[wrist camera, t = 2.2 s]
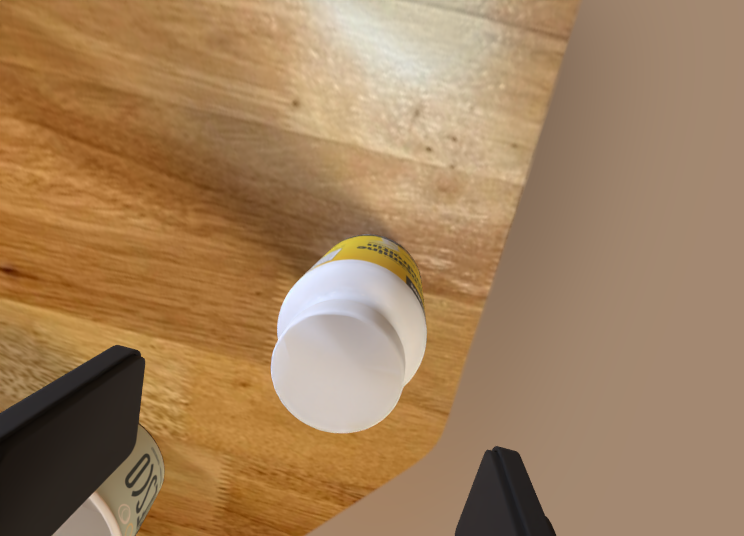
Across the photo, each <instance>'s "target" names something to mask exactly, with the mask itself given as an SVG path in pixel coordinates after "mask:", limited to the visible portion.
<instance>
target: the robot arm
mask: <svg viewBox="0 0 744 536" xmlns="http://www.w3.org/2000/svg"><path fill="white" fill-rule="evenodd" d="M144 369H145V359H144V358H143V357H141V354H140V352H139V351H138V350H135V349H131V348H128V347H124V346H120V345H115V346H112V347H111V348H109V349H107V350H106V351H104V352H102V353H101V354H99V355H97V356H96V357H94V358H92V359H91V360H89V361H87V362H85V363H84V364H82V365H80V366H79V367H77V368H75V369H74V370H72V371H70V372H69V373H67V374H65V375H64V376H62V377H60V378H59V379H57V380H55V381H53V382H52V383H50V384H48V385H47V386H45V387H43V388H42V389H40V390H38V391H37V392H35V393H33V394H32V395H30V396H28V397H27V398H25V399H23V400H21V401H20V402H18V403H16V404H15V405H13V406H11V407H10V408H8V409H6V410H5V411H3V412H1V413H0V536H52V535H53V534H54V533H55V532H56V531H57V530H58V529H59V528H60V527H61V526H62V525H63V524H64V523H65V522H66V521H67V520H68V518H69V517H70V516H71V515H72V514H73V513H74V512H75V511H76V510H77V509H78V508H79V507H80V506H81V505H82V504H83V503H84V502H85V501H86V500H87V499H88V498H89V497H90V496H91V495H92V494H93V493H94V492H95V491H96V490H97V489H98V488H99V487H100V486H101V485H102V483H103V482H104V481H105V480H106V479H107V478H108V477H109V476H110V475H111V474H112V473H113V472H114V471H115V470H116V469H117V468H118V467H119V466H120V465H121V464H122V463H123V462H124V461H125V460H126V459H127V458H128V457H129V455H130V454H131V453H132V451H133V449H134V447H135V444H136V440H137V432H138V423H139V414H140V405H141V396H142V387H143V378H144ZM455 536H556V534H555V531H554V529H553V527H552V524H551V523H550V521H549V519H548V518H547V517H546V516H545V514H544V512H543V510H542V507H541V505H540V503H539V500H538V498H537V495H536V493H535V490H534V488H533V486H532V483H531V481H530V478H529V476H528V473H527V471H526V469H525V466H524V464H523V462H522V459H521V457H520V455H519V453H518V452H516V451H513V450H509V449H506V448H502V447H498V446H496V447H494V448H493V449H492V451H491V450H487V451H486V452H485V454H484V456H483V459H482V461H481V464H480V467H479V469H478V472H477V475H476V477H475V480H474V482H473V485H472V488H471V491H470V493H469V496H468V499H467V501H466V504H465V506H464V509H463V512H462V514H461V517H460V520H459V522H458V525H457V528H456V531H455Z"/></svg>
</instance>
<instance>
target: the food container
mask: <svg viewBox="0 0 744 536" xmlns="http://www.w3.org/2000/svg"><path fill="white" fill-rule="evenodd" d="M163 480H164V463H163V458H162V455H161V453H160V450H159V448H158V446H157V444H156V443H155V441H154V440H153V438H152V437H151V436H150V435H149V433H148V432H147V431H146V430H145V429H144V428H143V427H142V426H140V425H139V424H138V432H137V440H136V444H135V447H134V449H133V451H132V453H131V454H130V455H129V457H128V458H127V459H126V460H125V461H124V462H123V463H122V464H121V465H120V466H119V467H118V468H117V469H116V470H115V471H114V472H113V473H112V474H111V475H110V476H109V477H108V478H107V479H106V480H105V481H104V482H103V483H102V485H101V486H100V487H99V488H98V489H97V490H96V491H95V492H94V493H93V494H92V495H91V496H90V497H89V498H88V499H87V500H86V501H85V502H84V503H83V504H82V505H81V506H80V507H79V508H78V509H77V510H76V511H75V512H74V513H73V514H72V515H71V516H70V517H69V518H68V520H67V521H66V522H65V523H64V524H63V525H62V526H61V527H60V528H59V529H58V530H57V531H56V532H55V533H54V534H53V535H52V536H136V534H137V532H138V530H139V528H140V526H141V524H142V523H143V521H144V519H145V517H146V515H147V513H148V511H149V510H150V508H151V506H152V504H153V502H154V500H155V498H156V496H157V495H158V493H159V491H160V489H161V487H162V484H163Z"/></svg>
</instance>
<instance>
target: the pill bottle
mask: <svg viewBox="0 0 744 536" xmlns="http://www.w3.org/2000/svg"><path fill="white" fill-rule="evenodd" d="M277 335H278V342H277V344H276V346H275V348H274V351H273V355H272V361H271V376H272V381H273V385H274V388H275V390H276V393H277V395H278V396H279V398H280V400H281V402H282V403H283V404H284V406H285V407H286V408H287V409H288V410H289V411H290V413H291V414H293V415H294V416H295V417H296V418H297V419H299V420H301V421H302V422H303V423H305V424H307V425H309V426H311V427H313V428H316V429H318V430H322V431H325V432H332V433H351V432H358V431H361V430H365V429H368V428H370V427H372V426H374V425H376V424H377V423H379V422H380V421H382V420H383V419H384V418H385V417H386V416H387V415H388V414H389V413H390V412H391V411H392V410H393V409H394V407H395V406H396V404H397V402H398V400H399V398H400V395H401V393H402V390H403V387H404V386H405V385H406V384H407V383H408V382H409V381H410V380H411V378H412V377H413V376H414V374H415V373H416V371H417V370H418V368H419V366H420V364H421V361H422V359H423V356H424V352H425V348H426V341H427V327H426V318H425V307H424V299H423V291H422V282H421V276H420V272H419V270H418V267H417V265H416V263H415V261H414V260H413V258H412V257H411V255H410V254H409V253H408V252H407V251H406V250H405V249H404V248H403V247H402V246H401V245H399V244H398V243H396V242H394V241H393V240H391V239H388V238H386V237H382V236H378V235H369V234H365V235H357V236H354V237H350V238H348V239H345V240H343V241H341V242H340V243H338V244H337V245H336V246H334V247H333V248H332V249H331V250H330V251H329V252H328V253H327V254H325V255H324V256H323V257H322V258H321V259H320V260H319V261H318V262H317V263H316V264H315V265H314V266H313V267H312V268H311V269H310V270H309V271H308V272H306V273H305V274H304V275H303V276H302V277H301V278H300V279H299V280H298V281H297V282H296V284H295V285H294V286H293V287H292V289H291V290H290V291H289V293H288V294H287V296H286V298H285V300H284V302H283V304H282V307H281V310H280V313H279V318H278V326H277Z"/></svg>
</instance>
